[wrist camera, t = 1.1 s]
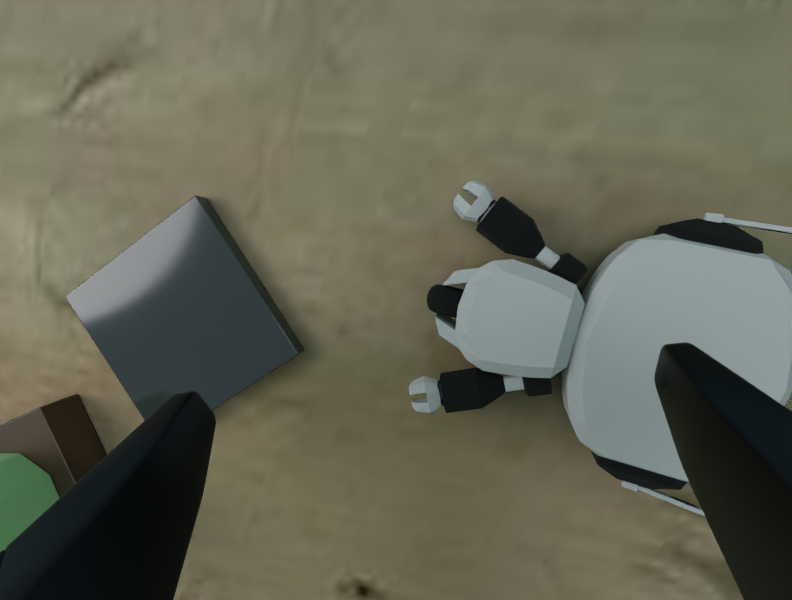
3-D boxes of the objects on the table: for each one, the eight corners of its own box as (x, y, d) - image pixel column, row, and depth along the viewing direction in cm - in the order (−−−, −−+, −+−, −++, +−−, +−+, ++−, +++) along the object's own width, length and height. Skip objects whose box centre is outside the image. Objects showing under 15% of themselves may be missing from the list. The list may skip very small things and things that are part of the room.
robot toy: (409, 399, 25) (702, 487, 22) (390, 428, 20) (754, 543, 18) (462, 177, 23) (786, 240, 20) (454, 157, 19) (865, 233, 16)
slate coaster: (304, 349, 25) (298, 353, 24) (170, 437, 26) (159, 444, 25) (206, 197, 25) (195, 195, 24) (79, 295, 26) (64, 296, 25)
